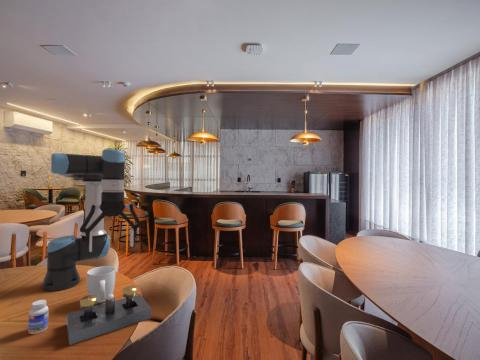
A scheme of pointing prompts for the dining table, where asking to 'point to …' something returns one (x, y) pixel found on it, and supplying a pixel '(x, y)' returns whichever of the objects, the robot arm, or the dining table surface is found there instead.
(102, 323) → the mount plate
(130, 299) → the far knob
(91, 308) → the near knob
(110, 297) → the pot post
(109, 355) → the dining table surface
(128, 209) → the robot arm
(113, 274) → the mug
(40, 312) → the pill bottle
